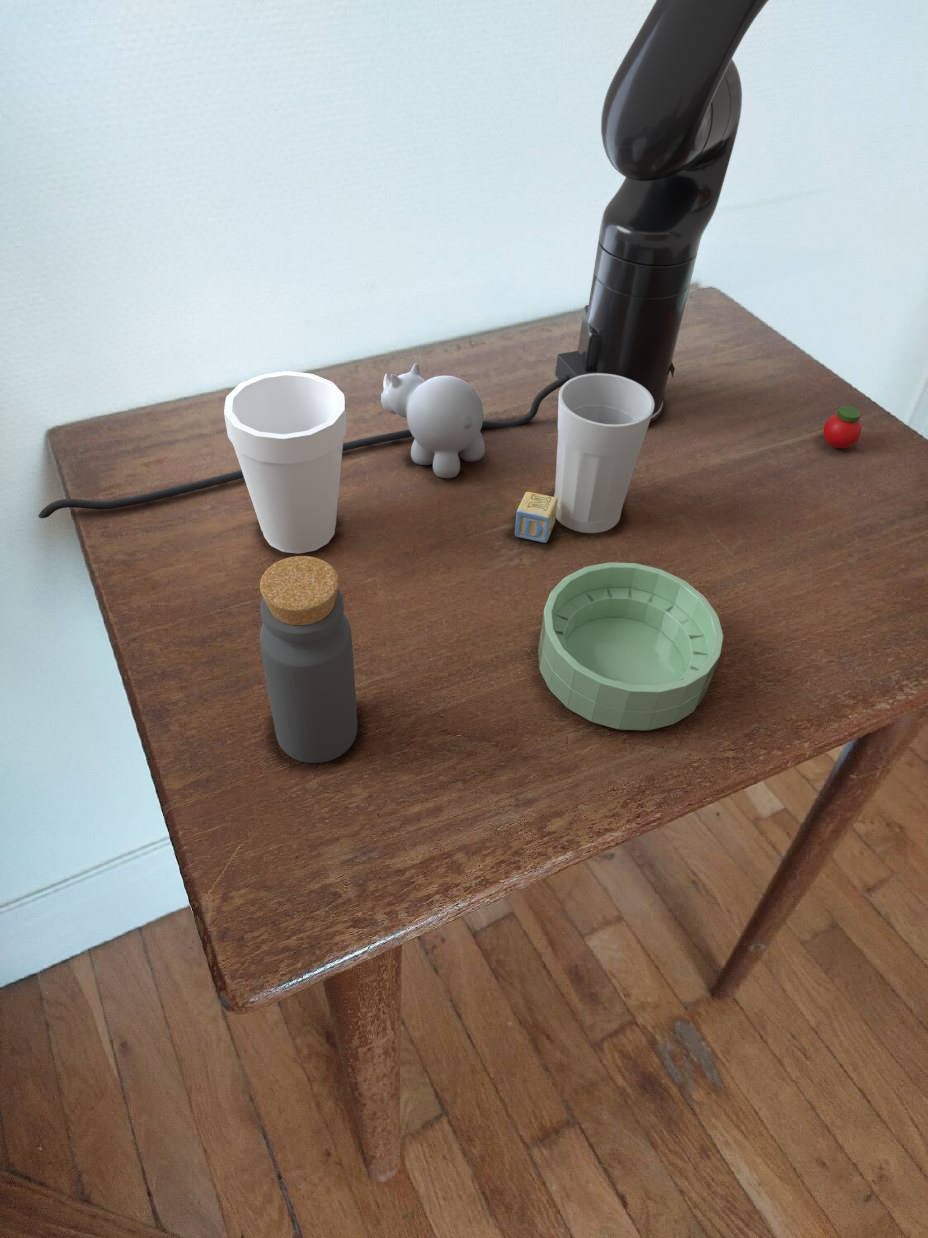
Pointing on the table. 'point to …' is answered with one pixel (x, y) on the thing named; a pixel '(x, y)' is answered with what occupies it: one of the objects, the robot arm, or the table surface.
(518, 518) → the alphabet block
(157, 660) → the table surface
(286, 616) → the bottle
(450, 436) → the toy rhinoceros
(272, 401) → the foam cup
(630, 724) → the bowl
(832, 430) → the toy tomato
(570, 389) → the cup
